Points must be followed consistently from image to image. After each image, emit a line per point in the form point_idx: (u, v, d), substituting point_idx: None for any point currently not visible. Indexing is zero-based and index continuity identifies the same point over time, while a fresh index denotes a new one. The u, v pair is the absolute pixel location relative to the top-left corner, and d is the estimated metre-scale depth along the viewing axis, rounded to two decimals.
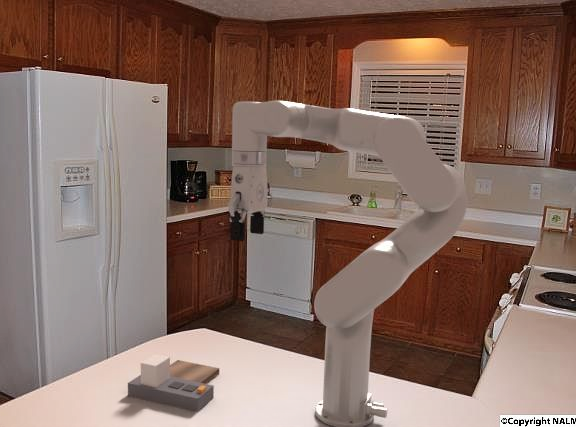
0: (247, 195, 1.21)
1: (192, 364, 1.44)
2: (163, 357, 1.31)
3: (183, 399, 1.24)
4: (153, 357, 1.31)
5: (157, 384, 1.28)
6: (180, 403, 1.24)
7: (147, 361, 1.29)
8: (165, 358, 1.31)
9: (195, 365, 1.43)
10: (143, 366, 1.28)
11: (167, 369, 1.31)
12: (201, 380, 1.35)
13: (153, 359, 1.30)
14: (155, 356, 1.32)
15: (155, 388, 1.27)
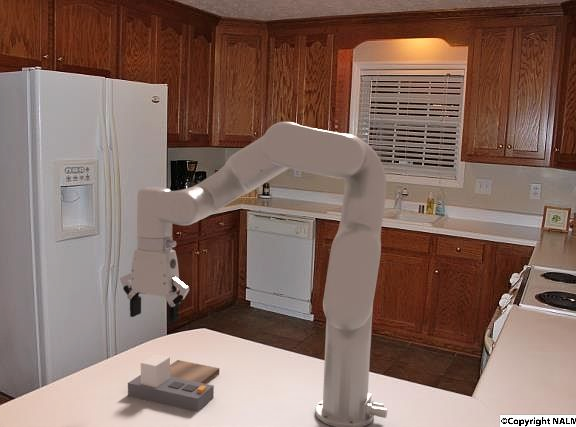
0: (178, 276, 1.27)
1: (192, 364, 1.44)
2: (163, 357, 1.31)
3: (183, 399, 1.24)
4: (153, 357, 1.31)
5: (157, 384, 1.28)
6: (180, 403, 1.24)
7: (147, 361, 1.29)
8: (165, 358, 1.31)
9: (195, 365, 1.43)
10: (143, 366, 1.28)
11: (167, 369, 1.31)
12: (201, 380, 1.35)
13: (153, 359, 1.30)
14: (155, 356, 1.32)
15: (155, 388, 1.27)
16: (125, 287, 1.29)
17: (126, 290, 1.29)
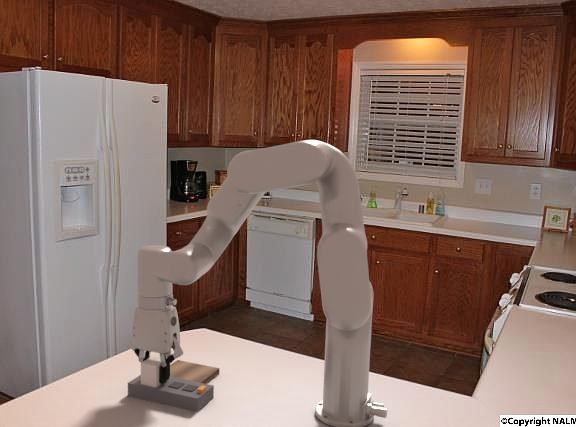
0: (179, 333, 1.29)
1: (192, 364, 1.44)
2: None
3: (183, 399, 1.24)
4: (153, 357, 1.31)
5: (157, 384, 1.28)
6: (180, 403, 1.24)
7: (147, 361, 1.29)
8: None
9: (195, 365, 1.43)
10: (143, 366, 1.28)
11: None
12: (201, 380, 1.35)
13: (153, 359, 1.30)
14: (155, 356, 1.32)
15: (155, 388, 1.27)
16: (136, 350, 1.30)
17: (137, 353, 1.30)
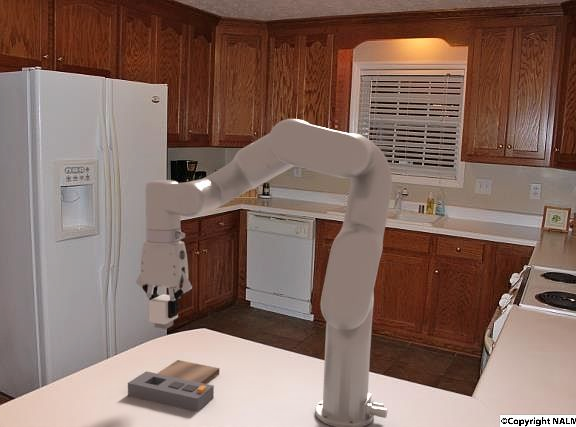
0: (187, 268, 1.29)
1: (192, 364, 1.44)
2: None
3: (183, 399, 1.24)
4: (161, 296, 1.31)
5: (166, 321, 1.28)
6: (180, 403, 1.24)
7: (156, 299, 1.29)
8: None
9: (195, 365, 1.43)
10: (152, 304, 1.28)
11: None
12: (201, 380, 1.35)
13: (161, 298, 1.30)
14: (163, 295, 1.32)
15: (155, 388, 1.27)
16: (144, 286, 1.30)
17: (145, 289, 1.30)
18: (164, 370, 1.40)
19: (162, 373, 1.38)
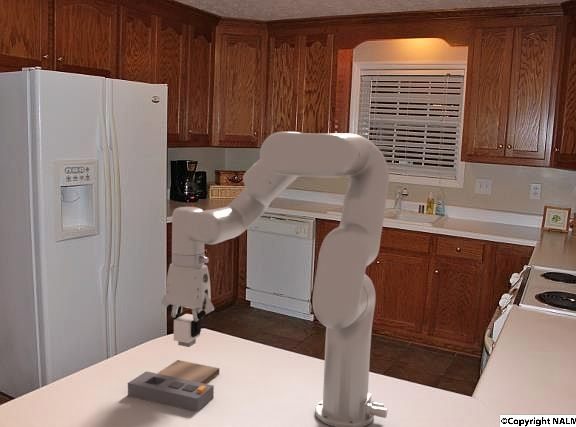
0: (210, 290, 1.37)
1: (192, 364, 1.44)
2: None
3: (183, 399, 1.24)
4: (185, 316, 1.39)
5: (189, 340, 1.36)
6: (180, 403, 1.24)
7: (180, 319, 1.37)
8: None
9: (195, 365, 1.43)
10: (176, 323, 1.36)
11: None
12: (201, 380, 1.35)
13: (185, 317, 1.38)
14: (186, 315, 1.40)
15: (155, 388, 1.27)
16: (169, 306, 1.38)
17: (170, 309, 1.38)
18: (164, 370, 1.40)
19: (162, 373, 1.38)
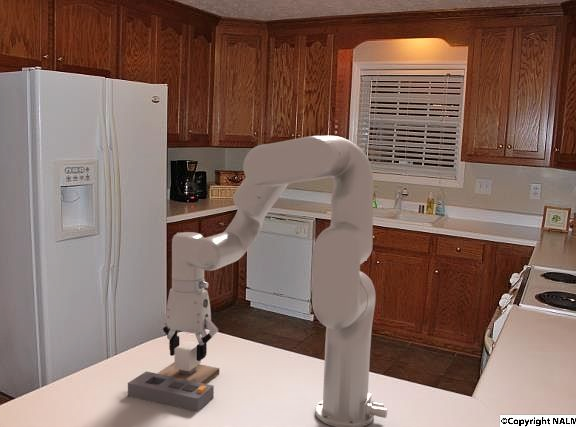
0: (210, 314, 1.38)
1: None
2: (194, 343, 1.40)
3: (183, 399, 1.24)
4: (185, 343, 1.40)
5: (190, 368, 1.37)
6: (180, 403, 1.24)
7: (180, 347, 1.38)
8: (197, 344, 1.40)
9: None
10: (177, 351, 1.37)
11: None
12: (201, 380, 1.35)
13: (185, 345, 1.39)
14: (187, 342, 1.41)
15: (155, 388, 1.27)
16: (165, 328, 1.39)
17: (166, 331, 1.39)
18: (164, 370, 1.40)
19: (162, 373, 1.38)
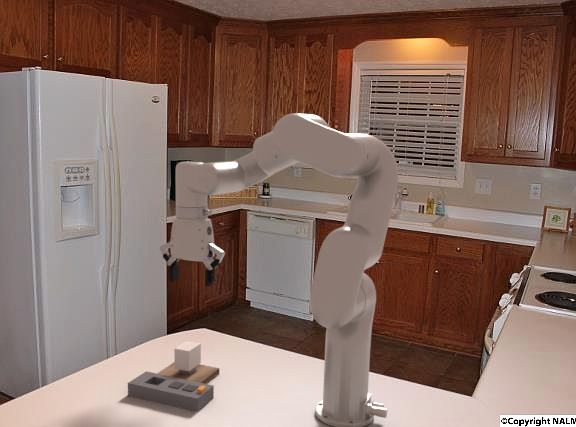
0: (213, 243, 1.39)
1: None
2: (194, 343, 1.40)
3: (183, 399, 1.24)
4: (185, 343, 1.40)
5: (190, 368, 1.37)
6: (180, 403, 1.24)
7: (180, 347, 1.38)
8: (197, 344, 1.40)
9: None
10: (177, 351, 1.37)
11: (198, 354, 1.40)
12: (201, 380, 1.35)
13: (185, 345, 1.39)
14: (187, 342, 1.41)
15: (155, 388, 1.27)
16: (164, 255, 1.41)
17: (165, 257, 1.41)
18: (164, 370, 1.40)
19: (162, 373, 1.38)
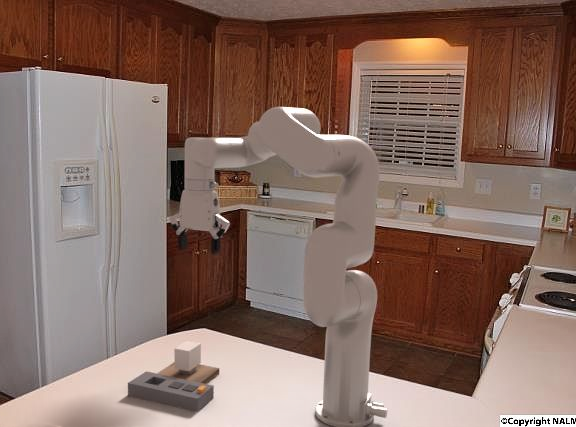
0: (219, 214, 1.49)
1: None
2: (194, 343, 1.40)
3: (183, 399, 1.24)
4: (185, 343, 1.40)
5: (190, 368, 1.37)
6: (180, 403, 1.24)
7: (180, 347, 1.38)
8: (197, 344, 1.40)
9: None
10: (177, 351, 1.37)
11: (198, 354, 1.40)
12: (201, 380, 1.35)
13: (185, 345, 1.39)
14: (187, 342, 1.41)
15: (155, 388, 1.27)
16: (174, 225, 1.51)
17: (175, 227, 1.51)
18: (164, 370, 1.40)
19: (162, 373, 1.38)
